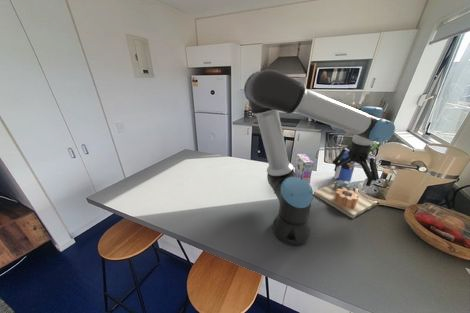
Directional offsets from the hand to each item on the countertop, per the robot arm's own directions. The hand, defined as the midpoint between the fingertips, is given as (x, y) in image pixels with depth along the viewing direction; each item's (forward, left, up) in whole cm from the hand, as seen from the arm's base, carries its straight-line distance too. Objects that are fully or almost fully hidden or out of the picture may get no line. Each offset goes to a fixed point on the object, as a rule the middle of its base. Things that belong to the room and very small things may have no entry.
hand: (348, 183), depth 86 cm
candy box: (-1, +28, -13) cm, 31 cm away
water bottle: (+25, +17, -13) cm, 33 cm away
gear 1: (+10, +6, -11) cm, 16 cm away
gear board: (+6, +3, -13) cm, 15 cm away
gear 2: (0, 0, -11) cm, 11 cm away
